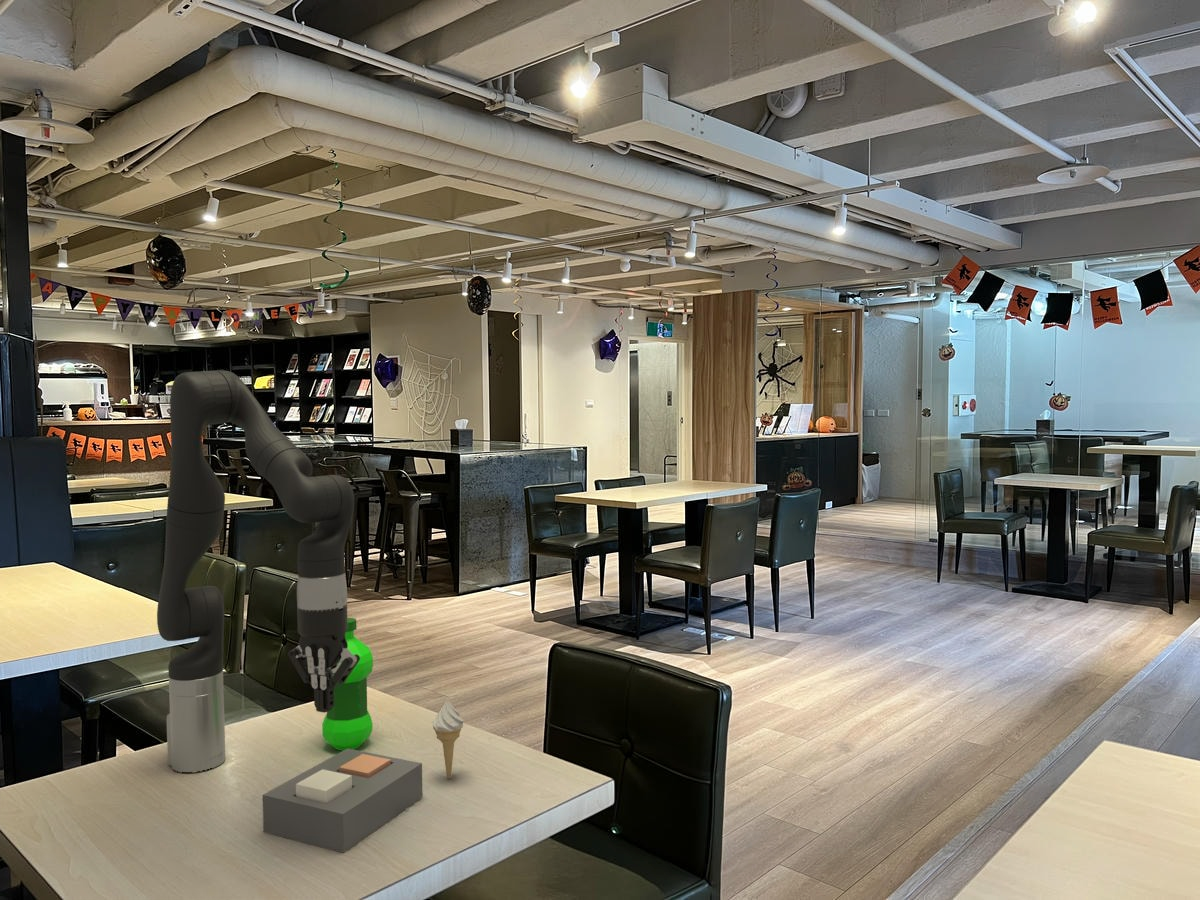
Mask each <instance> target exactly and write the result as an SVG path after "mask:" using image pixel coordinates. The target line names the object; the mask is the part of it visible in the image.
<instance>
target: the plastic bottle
mask: <svg viewBox="0 0 1200 900" xmlns="http://www.w3.org/2000/svg"><path fill="white" fill-rule="evenodd" d="M347 621H348V628H347V630H346V633H345V638H346V641H347V643H348V647H347V649H348V650H349V651H350V652H351V653H352V654H353V655H355V654H357V655H359V657H360V660H359V662H358V663H357V665H356V666H355V668H354V669H353V671H352V672H351V674H350V675H349V676H348V678H347V679H346V681H345V682H344V683H342V684H339V685H337V686H335V687H334V703H335V704H334V707H333V708H332V709H331V710H330V711H328V712H326V715H325V716H324V718H323V721H322V729H321V730H322V737H323V739H324V741H325V742H326V743H327V744H328V745H330V746H331V747H333V748H334V749H335V750H338V751H340V752H342V751H344V750H346V749H347V748H348V749H353V750H357V749H358V748H359V747H361V746H362V744H364V743H365V742H366V741H367V739H369V737H370V736H371V734H372V732H373V720H372V716H371V714H370V712H369V710H368V684H367V681H368V676H370V674H371V673H372V671H373V667H374V656H373V654H372V651H371V648H370V647H369V646H367V644H365V643H363V641H361V640H360V639H359V638H358V637H356V636H355V631H356V630H357V618H355V617H347ZM340 661H341V659H340ZM340 661H339V662H340ZM339 666H340V664H339ZM328 680H329V677H328Z"/></svg>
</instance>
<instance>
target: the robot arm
mask: <svg viewBox="0 0 1200 900" xmlns="http://www.w3.org/2000/svg"><path fill="white" fill-rule="evenodd" d="M169 398H170V399H169V411H170V413H169V415H170V417H169V418H170V444H171V445H170V449H171V450H170V451H171V456H170V457H171V458H170V473H169V474H170V476H169V487H168V497H167V507H166V523H165V524H166V527H165V530H166V531H165V551H164V562H163V570H162V575H161V581H160V588H159V595H158V602H157V609H156V611H157V612H156V622H157V623H156V625H157V630H158V633H159V635H160V637H161V638H162V639H163V640H165V641H166V642H177V641H184V640H190V639H195V638H198V640H197V641H196V642H195V643H194V644H193V645H192V646H191V647H189V648H188V649H187V650H185V651H183V652H182V653H180V654H177V655H176V656H174V657H173V658H172V659H170V661H169V663H168V667H167V669H168V692H169V713H167V714H166V741H167V743H166V745H167V746H166V747H167V748H166V749H167V765H168V766H171V769H172V770H173V769H174V770H176V771H175V772H177V771H178V772H177V773H182V772H192V773H195V772H194V771H200V772H202V771H201V770H205V771H208V770H207V769H209V770H211V769H210V768H212V769H214V768H217V767H218V766H220V765H222V764H223V763H224V762H225V761H226V731H225V730H226V729H225V728H226V727H225V697H224V695H225V694H224V692H225V691H224V664H223V663H224V650H225V649H224V634H225V633H224V629H225V604H224V598H223V594H222V593H221V591H220V589H219V588H218V587H217V586H215V585H205V586H197V587H190V588H186V586H187V583H188V581H189V578H190V577H191V576H190V575H191V574H192V573H193V570H194V569H195V567H196V566H197V565H198V563H199V562H200V561H201V559H202V558H203V557H204V556H205V554H206V553H207V552H208V550H210V548H211V547H212V546H213V544H215V542H216V540H217V539H218V538H219V536H220V533H221V531H222V529H223V524H224V515H225V504H226V503H225V502H226V496H225V495H226V494H225V490H224V487H223V485H222V483H221V482H220V480H219V478H218V477H217V475H216V473H215V472H214V471H213V469H212V467H211V466H210V464H209V463H208V461H207V460H206V457H205V455H204V452H203V444H202V443H203V441H202V439H203V438H202V437H203V428H204V426H210V425H218V424H219V425H220V424H222V425H223V424H227V423H231V424H234V425H236V426H237V427H239V428H240V429H241V430H242V431H243V432H244V438H245V439H244V445H245V446H244V447H245V453H246V457H247V459H248V462H250V464H251V465H252V466H253V468H254V469H255V470H256V471H257V472H258V473H259V474H260V475H261V476H262V477H263V478H264V479H265V480H266V481H267V482H268V483H269V484H271V486H272V487H273V489H274V491H275V493H276V495H277V497H278V499H279V501H280V504H281V505H282V508H283V510H284V511H285V513H286V514H287V515H288V516H289V517H290V518H292V519H293V520H295V521H297V522H299V523H303V524H312V523H317V522H318V524H317V528H316V530H315V531H314V532H313V533H311V535H308V536H306V537H304V538H302V539H301V540H300V541H299V543H298V544H297V545H298V546H297V575H298V576H297V584H296V585H297V586H296V602H297V603H296V605H297V606H296V613H297V614H296V615H297V618H296V619H297V634H298V635H300V638H299V640H298V645H297V646H296V647H294V648H293V649H291V650H288V652H287V657H288V658H289V659H290V661H291V663H292V665H293V667H294V668H295V670H296V671H297V673H298V674H299V676H300V678H301V680H302V682H303V683H304V684H309V685H311V688H313V703H314V707H315V710H316V712H317V713H324V714H325V713H326V714H327V712H328V711H330V710H331V709H332V708H333V707H334V704H335V703H334V687H335V686H337V685H339V684H342V683H344V682H345V681H346V679H347V678H348V676H349V675H350V674H351V672H352V671H353V669H354V668H355V666H356V665H357V663H358V662H359V660H360V657H359V655H357V654H355V655H353V654H352V653H351V652H350V651H349V650H348V649H347V647H348V643H347V641H346V638H345V633H346V630H347V628H348V621H347V618H348V590H347V589H348V587H347V581H346V579H347V578H346V573H345V572H346V571H345V570H346V569H345V568H346V562H345V559H346V558H345V557H346V556H345V546H346V542H347V539H348V535H349V530H350V526H351V522H352V519H353V514H354V508H355V494H354V490H353V487H352V484H351V483H350V481H348V479H346V478H345V477H344V476H342V475H339V474H328V475H327V474H326V475H319V476H318V475H317V476H312V474H313V468H314V467H313V464H312V461H311V459H310V457H308V456H307V455H306V454H305V453H304V451H302V450H301V449H300V448H299V447H298V446H296V445H295V443H294V442H293V441H291V440H290V439H289V438H288V437H287V436H286V435H284V433H282V431H281V430H280V429H279V428H278V427H277V426H276V425H275V423H274V422H273V420H272V419H271V418H270V417H269V415H268V414H267V413H266V411H265V410H264V408H263V406H262V405H261V404H260V402H259V401H258V400H257V398H256V397H255V396H254V394H253V393H252V391H251V390H250V389H249V388H248V386H247V384H245V382H244V381H243V380H242V379H241V378H240V377H239V376H238V375H237V374H235V373H234V372H231V371H229V370H218V369H217V370H205V371H187V372H182V373H180V374H178V375H177V376H176V377H175V378H174V380H173V383H172V385H171V389H170V397H169ZM340 659H341V661H340ZM339 661H340V662H339ZM339 664H340V666H339ZM328 677H329V680H328ZM174 770H173V771H174Z"/></svg>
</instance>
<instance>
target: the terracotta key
mask: <svg viewBox="0 0 1200 900" xmlns="http://www.w3.org/2000/svg"><path fill="white" fill-rule="evenodd" d="M389 765H391V759H386V758H381V757H376V756H371V755H366V754H362V755H360V756H358V757H356V758H355V759H353V760H351V761H349V762H347V763H346V764H344V765H342V766H340V767H339V772H342V773H347V774H352V775H356V776H361V777H366V778H370V777H371V776H373V775H374V774H376V773H378V772H379V771H381V770H383V769H384V768H386V767H387V766H389Z"/></svg>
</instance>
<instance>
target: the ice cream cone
mask: <svg viewBox="0 0 1200 900" xmlns="http://www.w3.org/2000/svg"><path fill="white" fill-rule="evenodd" d="M431 723H432V729H433V730H434V732H435V734H436V739H437V740H439V741H440V742H441V743H442V750H443V756H444V764H445V770H446V772H445V774H446V777H447V779H448V780H450V779H451V778H452V772H453V759H454V749H455V748H454V747H455V743H456V740H457V739H458V738H459V737H460V736H461V735H460V734H461V730H462V728H463V727H464V718H462V717H461V715H460V713H459V712H458V711H457V708H455V707H454V705H453V704H452V702H451V701H450V699H449V697H448V696H447V698H446V699H445V702H444V704H443V706H441V709H440V710H439V712H438V713H437V715H436V716H435V717H434V718H433V720H432V722H431Z"/></svg>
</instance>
